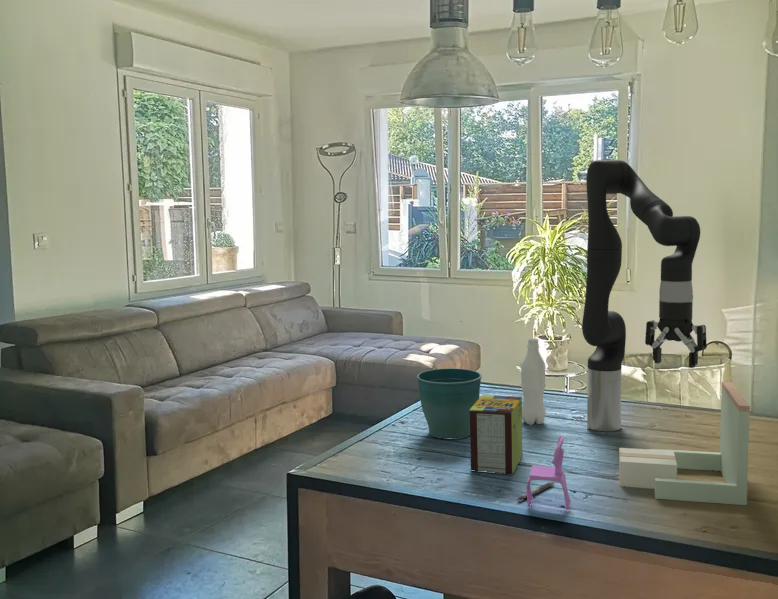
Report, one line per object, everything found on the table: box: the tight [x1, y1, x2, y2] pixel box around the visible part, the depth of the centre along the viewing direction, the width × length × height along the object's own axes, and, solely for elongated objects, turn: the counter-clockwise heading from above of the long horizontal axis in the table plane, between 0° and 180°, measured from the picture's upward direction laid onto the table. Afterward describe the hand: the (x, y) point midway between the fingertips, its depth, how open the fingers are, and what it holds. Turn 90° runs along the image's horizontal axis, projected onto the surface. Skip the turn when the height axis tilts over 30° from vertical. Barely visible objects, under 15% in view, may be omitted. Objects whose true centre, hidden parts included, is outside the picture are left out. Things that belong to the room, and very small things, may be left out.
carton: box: [618, 447, 678, 490], centre depth 169 cm, size 12×10×6 cm
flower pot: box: [416, 367, 483, 439], centre depth 208 cm, size 18×18×17 cm
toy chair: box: [525, 435, 571, 511], centre depth 156 cm, size 8×9×15 cm
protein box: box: [469, 394, 523, 475], centre depth 182 cm, size 10×15×16 cm
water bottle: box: [520, 338, 547, 426], centre depth 216 cm, size 7×7×25 cm
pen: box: [516, 481, 555, 501], centre depth 163 cm, size 1×14×1 cm, turn 135°
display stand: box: [648, 381, 751, 506], centre depth 165 cm, size 18×22×21 cm
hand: (674, 365), depth 180 cm, fingers open, 8 cm apart
